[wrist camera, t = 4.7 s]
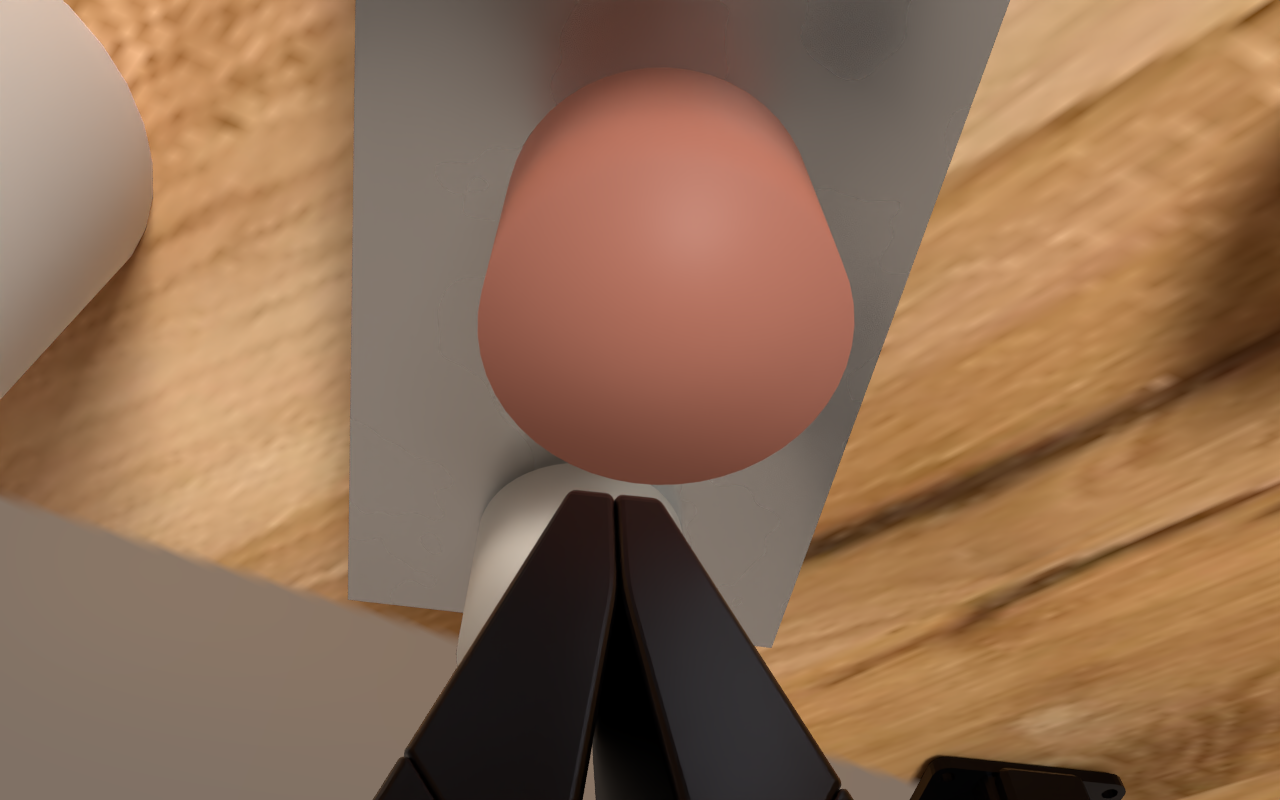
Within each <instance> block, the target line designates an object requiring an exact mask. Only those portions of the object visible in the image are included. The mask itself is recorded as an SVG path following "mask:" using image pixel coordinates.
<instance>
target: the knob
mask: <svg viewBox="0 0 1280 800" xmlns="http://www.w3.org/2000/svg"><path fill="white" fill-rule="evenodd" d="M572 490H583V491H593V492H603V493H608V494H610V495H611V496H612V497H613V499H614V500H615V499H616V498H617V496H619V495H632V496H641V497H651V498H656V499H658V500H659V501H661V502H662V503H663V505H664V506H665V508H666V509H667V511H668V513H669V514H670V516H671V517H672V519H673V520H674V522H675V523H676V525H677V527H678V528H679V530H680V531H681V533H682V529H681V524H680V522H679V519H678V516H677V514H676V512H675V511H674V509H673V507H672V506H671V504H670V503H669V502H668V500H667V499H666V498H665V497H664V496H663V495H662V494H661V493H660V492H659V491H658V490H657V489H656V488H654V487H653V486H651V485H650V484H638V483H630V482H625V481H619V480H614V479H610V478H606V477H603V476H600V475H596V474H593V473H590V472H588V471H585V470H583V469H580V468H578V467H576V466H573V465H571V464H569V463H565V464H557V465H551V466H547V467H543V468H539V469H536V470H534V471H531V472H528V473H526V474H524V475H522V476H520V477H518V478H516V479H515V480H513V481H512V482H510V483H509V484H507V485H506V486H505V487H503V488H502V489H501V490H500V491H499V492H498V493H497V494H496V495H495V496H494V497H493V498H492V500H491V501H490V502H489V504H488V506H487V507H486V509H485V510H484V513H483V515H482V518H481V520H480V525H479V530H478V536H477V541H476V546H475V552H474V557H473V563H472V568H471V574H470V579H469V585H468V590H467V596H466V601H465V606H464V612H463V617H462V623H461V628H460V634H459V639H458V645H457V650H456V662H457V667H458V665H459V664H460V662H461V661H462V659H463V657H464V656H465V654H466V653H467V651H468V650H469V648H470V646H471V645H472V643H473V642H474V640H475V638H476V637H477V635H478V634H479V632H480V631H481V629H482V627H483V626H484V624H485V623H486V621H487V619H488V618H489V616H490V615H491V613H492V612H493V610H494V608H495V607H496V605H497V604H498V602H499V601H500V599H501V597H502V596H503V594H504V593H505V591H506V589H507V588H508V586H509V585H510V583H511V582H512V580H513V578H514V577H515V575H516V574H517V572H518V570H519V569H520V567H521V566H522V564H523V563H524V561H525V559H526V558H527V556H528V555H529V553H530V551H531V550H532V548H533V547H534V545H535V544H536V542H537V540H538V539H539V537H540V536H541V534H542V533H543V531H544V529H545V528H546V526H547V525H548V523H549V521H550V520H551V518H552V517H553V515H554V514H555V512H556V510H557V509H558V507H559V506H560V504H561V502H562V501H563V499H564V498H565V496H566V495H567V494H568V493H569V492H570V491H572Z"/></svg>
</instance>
